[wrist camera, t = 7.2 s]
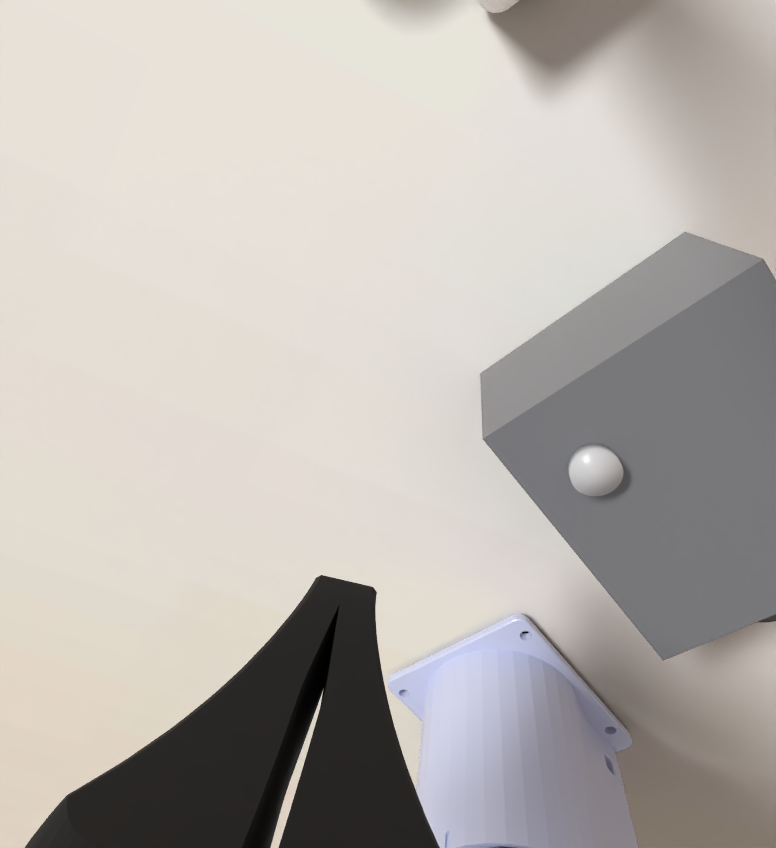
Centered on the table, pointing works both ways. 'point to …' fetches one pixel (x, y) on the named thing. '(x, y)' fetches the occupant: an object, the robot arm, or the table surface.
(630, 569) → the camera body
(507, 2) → the joystick
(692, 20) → the table surface
